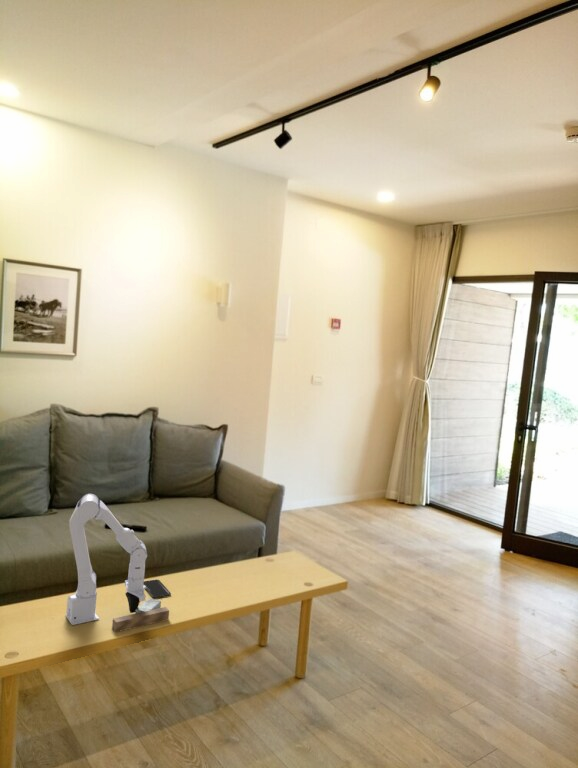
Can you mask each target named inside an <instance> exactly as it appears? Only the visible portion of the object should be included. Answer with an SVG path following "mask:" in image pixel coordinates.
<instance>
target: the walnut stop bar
mask: <svg viewBox="0 0 578 768" xmlns="http://www.w3.org/2000/svg"><path fill="white" fill-rule="evenodd" d="M169 617H170V609H169V608H167V607H166V606H163V607H161V608H158V609H154V610H149V611H145V612H140V613H136V614H135V613H130V614H128V615H122V616H118V617H114V618H112V624H111V625H112V626H111V629H112V630H113V631H114V633H118V632H121V631H120V630H122V631H125V629H126V630H130V629H129V628H131V629H134V627H135V628H139V627H143V626H147V625H151V623H152V624H155V623H160V622H164V621H167V620H169ZM163 620H164V621H163ZM117 631H118V632H117Z"/></svg>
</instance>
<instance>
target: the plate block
mask: <svg viewBox="0 0 578 768" xmlns="http://www.w3.org/2000/svg"><path fill="white" fill-rule="evenodd" d="M161 605H162V601H161V600H158V599H153V598H152V597H151V598H150V597H149V598H148V599H146V600H145V601H143V602H142V604H139V605H138V608H137V609H136V611H135V612H134V614H136V613H140V612H145V611H149V610H154V609H158V608H162V606H161Z"/></svg>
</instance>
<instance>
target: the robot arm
mask: <svg viewBox="0 0 578 768" xmlns="http://www.w3.org/2000/svg"><path fill="white" fill-rule="evenodd" d="M93 518H94V520H99V521H100V520H102V521H103V522H104V523H105V524H106V525H107V526H108V527H109V528H110V529H111V531H113V532H114V534H115V535H116V536H115V537H116V538H115V540H116V541H117V542H118V543H119V545H120V546H121V547H122V548H123V549H124V550H125V551H126V552H127V553H129V554H130V555H129V557H130V560H129V565H128V576H127V579H126V580H124V587H125V590H126V592H125V596H126V599H127V602H128V609H129V613H130V614H135V611H136V609H137V608H138V607H139V606H140V603H141V602H145V601H146V597H147V596H146V594H145V589H146V586H145V585H143V583H144V581H145V571H146V560H147V557H148V552H147V547H146V544H145V542H143V541H142V540H141V539H139V538H138V537H137V535H135V531H134V530H133V529H130V528H128V527H124V526H123V525H122V524H121V523H120V522H119V520H118V519H117V518H116V517H115V515H114V514H113V513H112V511H111V510H110V509H109V508H108V506H107V505H106V504H105V503H104V502H103V501H102V500H101V499H99V497H98V495H96V494H93V493H87V494H84V495H83V496H82V497H81V498H80V499H79V500H78V501H77V504H76V506H75V508H74V510H73V512H72V514H71V517H70V518H69V520H68V521H69V522H68V527H69V532H70V537H71V541H72V542H71V543H72V548H73V553H74V558H75V559H74V560H75V563H76V570H77V582H78V583H77V587H76V588H77V589H76V591H75V593H74V594H71V595H69V596H68V597H67V602H66V612H65V613H66V614H65V617H66V618H67V620H68V621H69V623H70V624H71V625H72V626H74V625H79V624H84V623H88V622H92V621H97V620H99V619H100V618H99V616H98V615H97V613H96V610H97V609H96V606H97V594H98V590H97V574H96V572H95V571H94V570H93V567H92V566H93V565H92V564H91V559H90V553H89V547H88V542H87V536H86V531H85V525H86V523H88V522H89V521H90V520H92V519H93Z"/></svg>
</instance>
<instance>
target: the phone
mask: <svg viewBox="0 0 578 768" xmlns="http://www.w3.org/2000/svg"><path fill="white" fill-rule="evenodd" d="M143 585H145V586H146V589H144V591H145V592H146V593H147V594H148V595H149V596H150V597H151V599H155V600H157V599H162V598H161V597H163V598H168V597H167V596H169V597H170V596H171V594H172V593H171V592H170V591H169V589H168V588H167V587H166V585H164V583H162V582H161V580H159V579H150V580H144V583H143ZM156 598H157V599H156Z"/></svg>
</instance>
